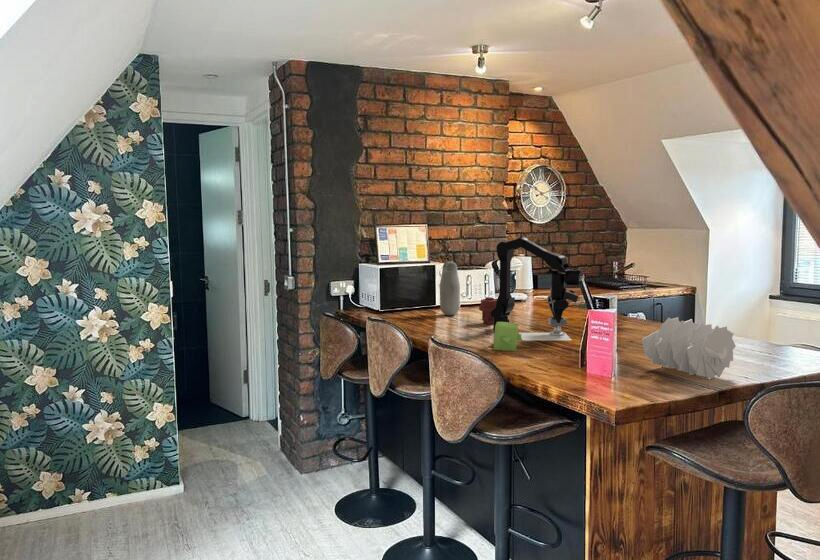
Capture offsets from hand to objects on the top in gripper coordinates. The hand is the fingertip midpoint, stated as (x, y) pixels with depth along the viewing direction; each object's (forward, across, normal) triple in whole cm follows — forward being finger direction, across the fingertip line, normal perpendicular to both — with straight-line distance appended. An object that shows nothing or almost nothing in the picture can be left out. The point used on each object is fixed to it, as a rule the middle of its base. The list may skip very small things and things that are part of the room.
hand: (557, 321), depth 276 cm
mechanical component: (+6, +31, +27) cm, 42 cm away
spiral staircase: (+6, -64, -32) cm, 72 cm away
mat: (+6, -4, +6) cm, 10 cm away
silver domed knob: (+6, 0, 0) cm, 6 cm away
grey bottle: (+7, +56, +46) cm, 73 cm away
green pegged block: (+6, -26, +23) cm, 35 cm away
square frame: (+1, 0, 0) cm, 1 cm away
